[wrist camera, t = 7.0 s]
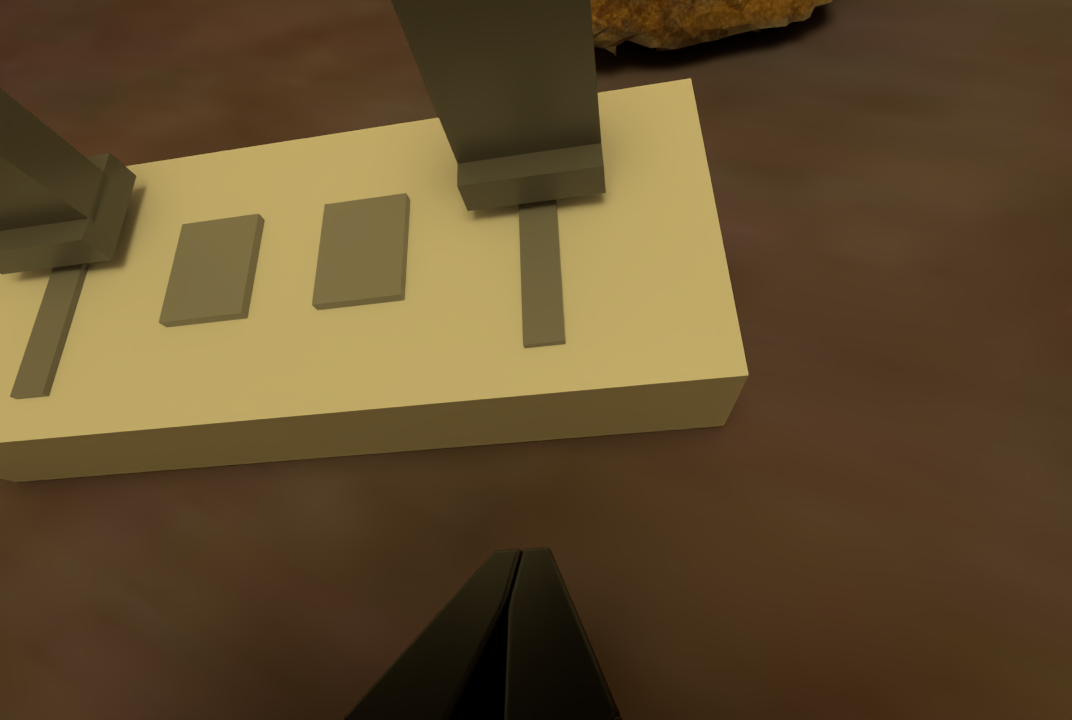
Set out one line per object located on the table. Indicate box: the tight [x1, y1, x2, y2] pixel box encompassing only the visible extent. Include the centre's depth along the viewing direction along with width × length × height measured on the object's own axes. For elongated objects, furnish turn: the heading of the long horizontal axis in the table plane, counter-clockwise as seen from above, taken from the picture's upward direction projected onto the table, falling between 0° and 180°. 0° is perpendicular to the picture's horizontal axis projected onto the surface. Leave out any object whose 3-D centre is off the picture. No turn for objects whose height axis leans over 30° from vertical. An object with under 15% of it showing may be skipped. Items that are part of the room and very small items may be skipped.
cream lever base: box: [0, 78, 749, 482], centre depth 18 cm, size 9×23×4 cm, turn 92°
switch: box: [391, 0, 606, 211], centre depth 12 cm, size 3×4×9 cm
